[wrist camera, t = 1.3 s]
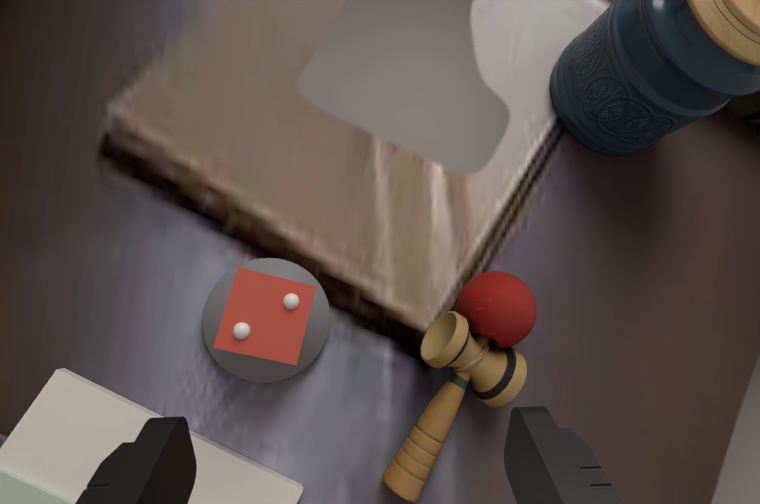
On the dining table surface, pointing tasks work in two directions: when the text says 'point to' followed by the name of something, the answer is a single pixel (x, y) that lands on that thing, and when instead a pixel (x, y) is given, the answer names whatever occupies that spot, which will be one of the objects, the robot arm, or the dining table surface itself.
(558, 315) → the dining table surface
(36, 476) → the game board
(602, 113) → the canister
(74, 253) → the dining table surface
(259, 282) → the red die
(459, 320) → the kendama
